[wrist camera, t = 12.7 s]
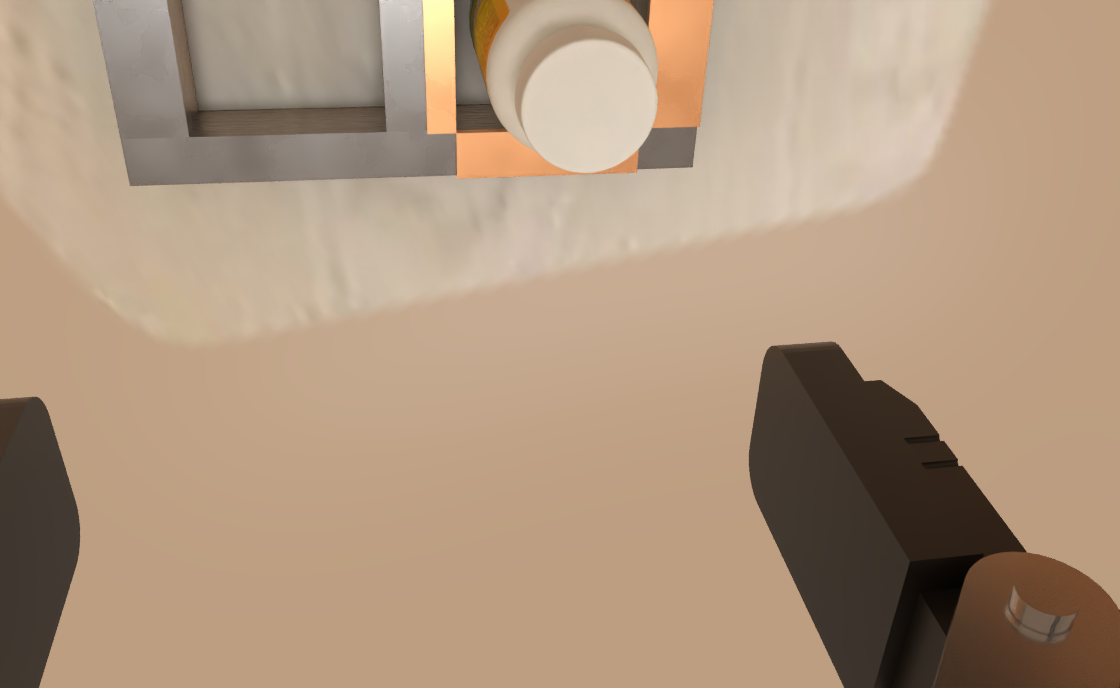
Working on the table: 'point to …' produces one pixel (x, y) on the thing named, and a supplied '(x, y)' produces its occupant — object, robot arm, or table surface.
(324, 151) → the tray
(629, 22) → the supplement bottle
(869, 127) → the table surface
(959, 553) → the robot arm
